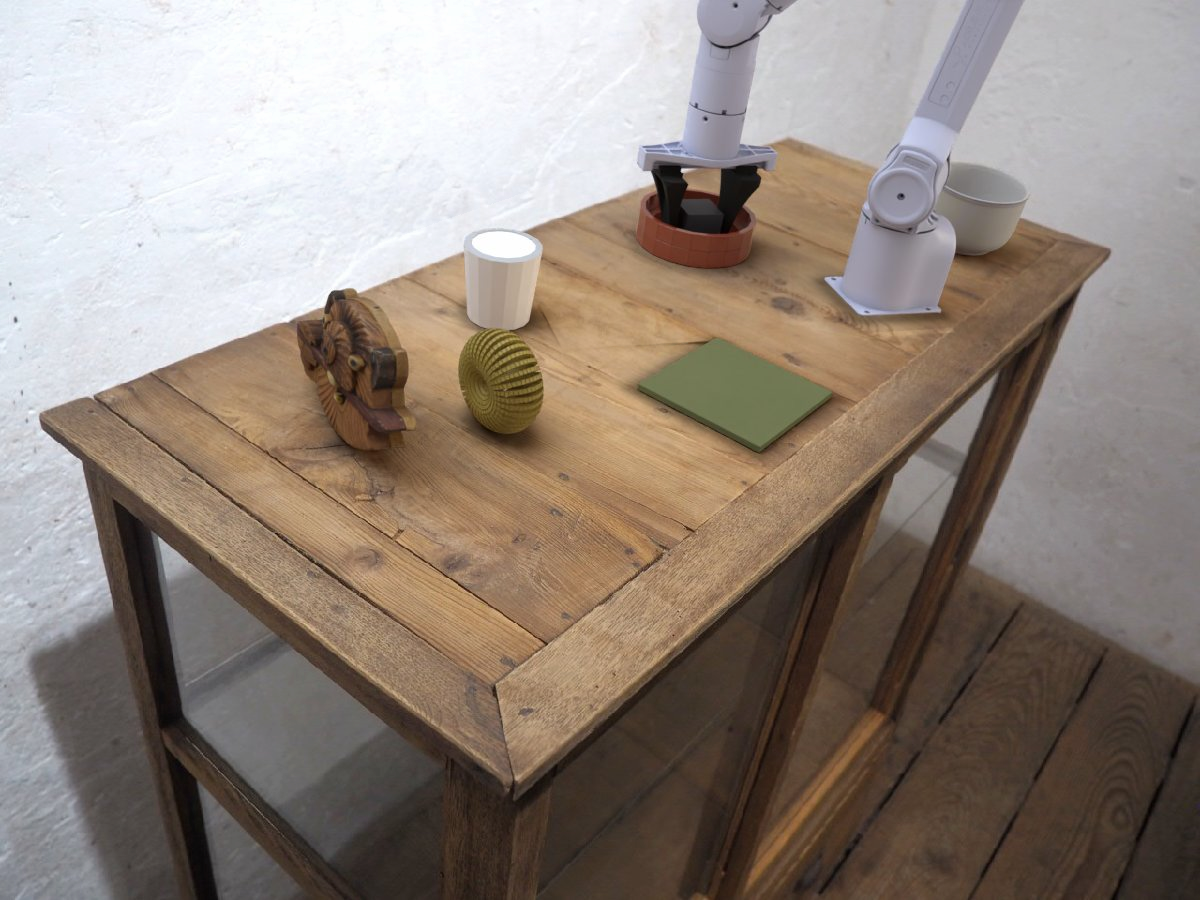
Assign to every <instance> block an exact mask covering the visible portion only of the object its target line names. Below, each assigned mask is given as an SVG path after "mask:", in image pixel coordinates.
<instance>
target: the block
mask: <svg viewBox="0 0 1200 900" xmlns="http://www.w3.org/2000/svg"><path fill="white" fill-rule="evenodd" d="M723 216H724V214H723V213H722V212H721V211H720V210H719V209H718V208H717V207H716V206H715V204H714V203H713V202H712V201H711V200H710V199H683V200H682V203H681V207H680V210H679V216H678V223H677V228H679V229H683V230H687V231H691V232H697V233H705V234H720V231H721V226H722V221H723Z"/></svg>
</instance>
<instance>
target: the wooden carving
mask: <svg viewBox="0 0 1200 900" xmlns="http://www.w3.org/2000/svg"><path fill="white" fill-rule="evenodd" d="M296 339H297V346H298V349H299V352H300V354H299V357H300V360H301V363H302V365H303V369H304V373H305V375H306V376H307V378H309V380H310V381H312V382H313V383H314V384H317V386H318V387H317V395H318V398H319V401H320V405H321V406H322V409H323V411H324V414H325V415H326V418H327V419H328V421H329V423H330V425H331V426H332V428H334V430H335V432H336V433H337V434H338V436H339V437H341V438H342V440H344V442H345V443H346V444H348V445H349V446H351V447H352V448H354V449H358V450H362V451H378V450H384V449H388V450H394V449H403V448H405V445H406V442H405V439H404V434H403V432H414V431H416V430H417V421H416V418H415V415H414V414H413V413H412V411H410V409H409V408H408V407H407V406H406V399H405V397H406V396H405V386H406V385H407V382H408V378H409V370H410V369H409V368H410V367H409V363H410V362H409V357H408V352H407V350H406V349H405V348H403V347H402V344H401V342H400V339H399V337H398V334H397V332H396V330H395V329H394V326H393V325H392V323H391V322H390V319H389V317H388V316H387V313H386V311H384V309H383V308H382V307H381V306H380V305H378V304H377V302H376V301H375V300H374V299H371V298H368V297H365V296H359V293H358V291H357V290H356V289H355V288H353V287H349V288H343V289H333V290H332V291H330V293H329V294H328V296H327V299H326V303H325V305H324V311H323V316H322V317H317V318H316V319H308V320H298V322H297V323H296Z"/></svg>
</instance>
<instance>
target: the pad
mask: <svg viewBox="0 0 1200 900" xmlns="http://www.w3.org/2000/svg"><path fill="white" fill-rule="evenodd" d="M636 388H637V391H640V392H641V393H643V394H645V395H647V396H649V397H651V398H653V399H654V400H657V401H658V402H661V403H663V404H664V405H666V406H668V407H670V408H672V409H674V410H676V411H677V412H680V413H682V414H683V415H686V416H687V417H689V418H691V419H693V420H695V421H697V422H699V423H700V424H703V425H705V426H707V427H709V428H710V429H712V430H715V431H716V432H718V433H720V434H722V435H724V436H726V437H727V438H730V439H732V440H734V441H736V442H737V443H739V444H741V445H742V446H745V447H746V448H748V449H750V450H753V451H755V452H757V453H760V452H762V451H763V450H764V449H766V448H767V447H769V446H770V445H771V444H772V443H774V442H775V441H776V440H777V439H779V438H780V437H781V436H783V435H784V434H785V433H787V432H788V431H789V430H790V429H792V428H793V427H794V426H796V425H797V424H799V423H800V422H801V421H802V420H804V419H805V418H806V417H807V416H809V415H810V414H811V413H813V412H814V411H815V410H817V409H818V408H819V407H820V406H822V405H824V404H825V403H826V402H828V400H830V399H832V396H833V391H832V390H830V389H828V388H825V387H824V386H821V385H820V384H817V383H815V382H813V381H811V380H809V379H807V378H805V377H803V376H800V375H798V374H795V373H794V372H791V371H789V370H787V369H785V368H783V367H781V366H779V365H777V364H775V363H773V362H770V361H769V360H766V359H765V358H762V357H760V356H758V355H755V354H754V353H751V352H749V351H747V350H745V349H743V348H741V347H739V346H737V345H734V344H732V343H730V342H728V341H726V340H724V339H722V338H720V337H714V338H712V339H711V340H710V341H708V342H706V343H705V344H703V345H701V346H699V347H697V348H696V349H694V350H693V351H690V352H689V353H687V354H686V355H684V356H682V357H680V358H679V359H677V360H676V361H674V362H672V363H671V364H669V365H667V366H666V367H664V368H662V369H660V370H659V371H657V372H655V373H654V374H652V375H649V377H647V378H645V379H643V380H642V381H639V382H638V383H637V387H636Z"/></svg>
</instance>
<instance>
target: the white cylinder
mask: <svg viewBox="0 0 1200 900" xmlns="http://www.w3.org/2000/svg"><path fill="white" fill-rule="evenodd" d="M543 249H544V246H543V244H542V243H541V242H540V240H539V239H538V238H536V237H534V236H532V235H531V234H529V233H526V232H524V231H519V230H516V229H512V228H500V227H496V228H495V227H494V228H482V229H480V230H476V231H472V232H471V233H470V234H468V235H467V236H465V238H464V241H463V257H464V275H465V277H464V279H465V295H466V296H465V297H466V314H467V317H468V319H469V320H470V321H471V322H472V323H474V324H475V325H477V326H478V327H481V328H484V329H489V328H498V329H499V328H500V329H505V330H508V331H515V330H517V329H520V328H523V327H525V326H526V325H527V324H528V323H529V322H530V318H531V312H532V307H533V304H534V303H533V302H534V297H535V292H536V287H537V281H538V277H539V270H540V266H541V261H542V255H543Z"/></svg>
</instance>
